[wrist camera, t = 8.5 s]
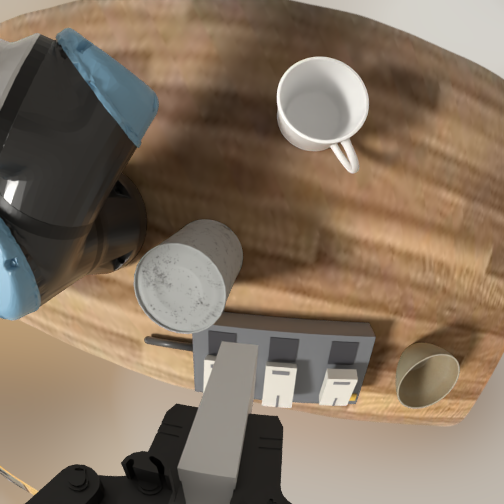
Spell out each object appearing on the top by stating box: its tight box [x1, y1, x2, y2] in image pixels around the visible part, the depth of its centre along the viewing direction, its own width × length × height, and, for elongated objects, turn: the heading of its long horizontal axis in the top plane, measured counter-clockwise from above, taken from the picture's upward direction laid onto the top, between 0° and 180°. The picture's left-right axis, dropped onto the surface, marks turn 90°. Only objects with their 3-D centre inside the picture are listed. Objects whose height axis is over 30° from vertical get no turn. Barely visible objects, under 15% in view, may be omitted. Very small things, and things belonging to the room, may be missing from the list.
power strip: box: [144, 312, 376, 404], centre depth 43 cm, size 33×12×4 cm, turn 87°
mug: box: [277, 57, 369, 173], centre depth 30 cm, size 12×8×12 cm
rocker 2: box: [262, 361, 297, 408], centre depth 40 cm, size 4×6×2 cm, turn 176°
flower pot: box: [396, 343, 460, 409], centre depth 40 cm, size 10×10×7 cm
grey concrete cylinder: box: [134, 219, 243, 334], centre depth 36 cm, size 10×10×12 cm
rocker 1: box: [203, 355, 217, 394], centre depth 41 cm, size 4×6×2 cm, turn 176°
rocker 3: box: [319, 369, 358, 406], centre depth 39 cm, size 4×6×2 cm, turn 176°
